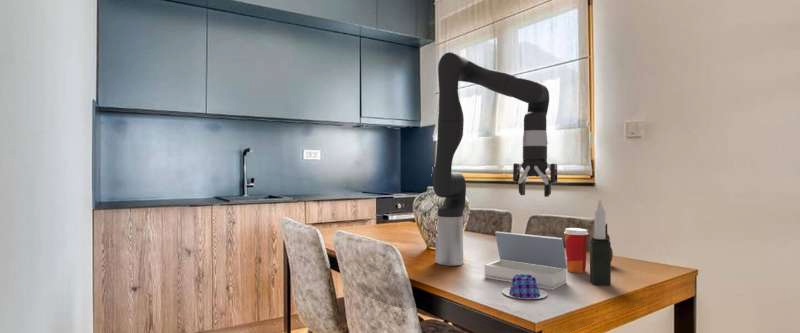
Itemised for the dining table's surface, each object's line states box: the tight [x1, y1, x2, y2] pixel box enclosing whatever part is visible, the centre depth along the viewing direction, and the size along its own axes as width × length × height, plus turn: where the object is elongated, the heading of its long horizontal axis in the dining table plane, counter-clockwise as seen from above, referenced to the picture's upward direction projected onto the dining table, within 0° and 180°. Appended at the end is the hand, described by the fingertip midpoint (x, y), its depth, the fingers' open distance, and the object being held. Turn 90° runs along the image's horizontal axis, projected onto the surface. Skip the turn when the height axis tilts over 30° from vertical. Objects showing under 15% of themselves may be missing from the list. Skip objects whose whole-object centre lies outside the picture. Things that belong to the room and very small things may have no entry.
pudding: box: [501, 274, 548, 300], centre depth 122 cm, size 12×12×5 cm
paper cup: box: [563, 227, 589, 274], centre depth 149 cm, size 8×8×14 cm
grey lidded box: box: [484, 259, 567, 291], centre depth 137 cm, size 22×10×4 cm, turn 49°
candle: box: [589, 199, 612, 287], centre depth 133 cm, size 5×5×25 cm
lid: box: [494, 231, 567, 270], centre depth 140 cm, size 22×10×1 cm
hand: (534, 195), depth 143 cm, fingers open, 7 cm apart
